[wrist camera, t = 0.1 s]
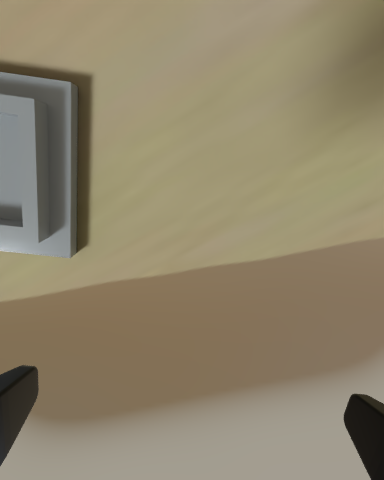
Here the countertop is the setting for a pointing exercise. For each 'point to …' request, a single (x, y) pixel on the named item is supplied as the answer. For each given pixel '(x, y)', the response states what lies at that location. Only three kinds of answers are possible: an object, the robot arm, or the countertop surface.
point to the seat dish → (38, 165)
